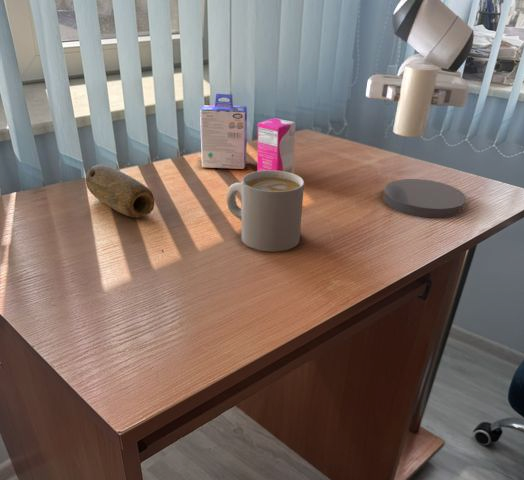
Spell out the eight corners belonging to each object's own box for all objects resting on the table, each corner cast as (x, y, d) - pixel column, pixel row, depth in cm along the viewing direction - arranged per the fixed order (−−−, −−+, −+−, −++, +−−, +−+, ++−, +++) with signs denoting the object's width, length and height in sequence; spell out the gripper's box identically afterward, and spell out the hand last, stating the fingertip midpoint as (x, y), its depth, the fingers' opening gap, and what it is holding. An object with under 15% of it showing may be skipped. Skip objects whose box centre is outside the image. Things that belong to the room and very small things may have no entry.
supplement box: (272, 171, 116) (274, 116, 109) (293, 178, 113) (297, 122, 106) (255, 178, 112) (257, 121, 105) (277, 185, 109) (280, 127, 102)
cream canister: (415, 127, 109) (428, 63, 102) (430, 136, 105) (445, 70, 97) (387, 128, 108) (399, 63, 101) (401, 137, 103) (415, 70, 96)
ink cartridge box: (246, 162, 120) (247, 93, 111) (245, 170, 116) (246, 99, 107) (204, 160, 120) (201, 91, 111) (201, 168, 116) (198, 97, 107)
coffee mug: (310, 238, 89) (316, 180, 83) (273, 257, 83) (277, 197, 77) (253, 215, 96) (254, 161, 90) (215, 232, 90) (213, 174, 84)
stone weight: (81, 202, 98) (75, 166, 94) (112, 192, 103) (107, 158, 98) (131, 226, 91) (126, 188, 87) (162, 214, 95) (159, 178, 91)
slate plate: (437, 185, 113) (439, 176, 112) (480, 214, 101) (483, 205, 99) (370, 189, 109) (371, 181, 108) (405, 220, 97) (407, 211, 96)
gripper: (370, 64, 112) (365, 75, 101) (468, 72, 109) (473, 85, 98) (365, 95, 116) (360, 110, 105) (460, 104, 112) (464, 120, 102)
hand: (415, 98), depth 101 cm, fingers closed on cream canister, 6 cm apart
